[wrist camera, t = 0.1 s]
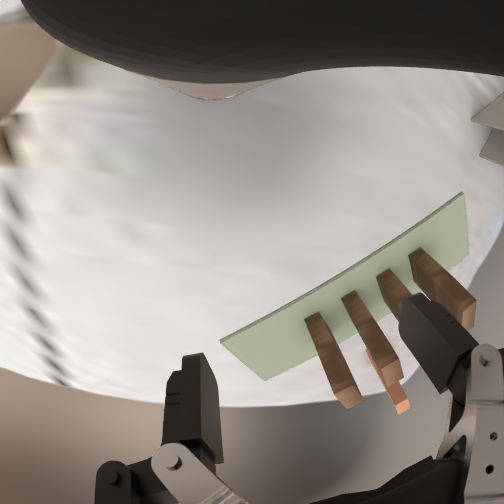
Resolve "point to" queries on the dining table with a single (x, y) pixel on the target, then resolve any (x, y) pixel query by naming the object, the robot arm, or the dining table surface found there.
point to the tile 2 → (333, 361)
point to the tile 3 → (373, 338)
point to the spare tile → (393, 391)
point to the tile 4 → (392, 291)
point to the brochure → (500, 141)
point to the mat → (355, 278)
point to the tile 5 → (442, 287)
